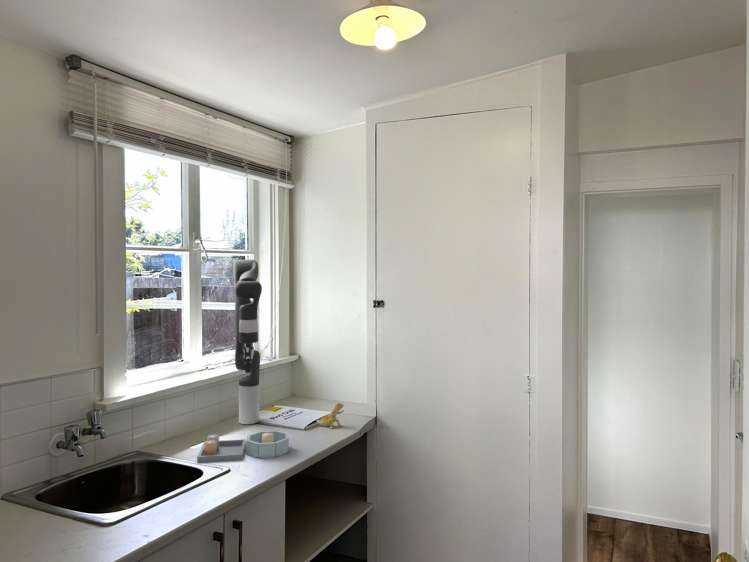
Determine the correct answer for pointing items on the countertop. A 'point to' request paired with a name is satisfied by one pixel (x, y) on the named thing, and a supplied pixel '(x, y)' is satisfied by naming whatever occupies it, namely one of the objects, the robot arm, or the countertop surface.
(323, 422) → the toy
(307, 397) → the countertop surface
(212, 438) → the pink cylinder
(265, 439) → the pebble sand
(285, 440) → the bowl
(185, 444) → the countertop surface
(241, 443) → the tray
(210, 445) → the pebble rust
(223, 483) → the countertop surface
